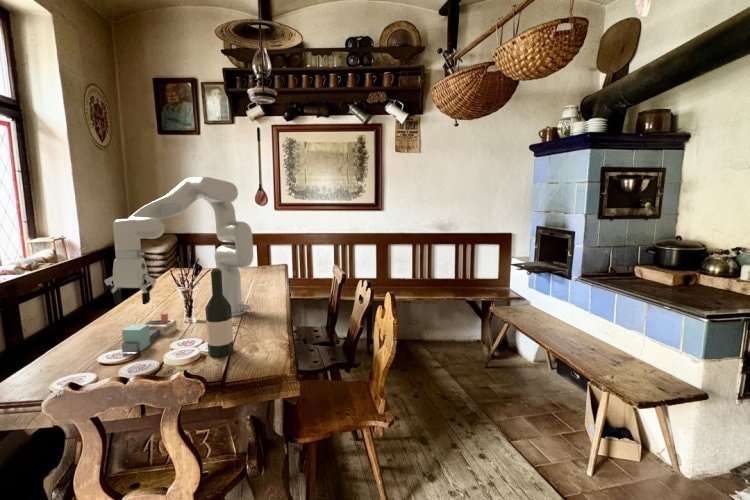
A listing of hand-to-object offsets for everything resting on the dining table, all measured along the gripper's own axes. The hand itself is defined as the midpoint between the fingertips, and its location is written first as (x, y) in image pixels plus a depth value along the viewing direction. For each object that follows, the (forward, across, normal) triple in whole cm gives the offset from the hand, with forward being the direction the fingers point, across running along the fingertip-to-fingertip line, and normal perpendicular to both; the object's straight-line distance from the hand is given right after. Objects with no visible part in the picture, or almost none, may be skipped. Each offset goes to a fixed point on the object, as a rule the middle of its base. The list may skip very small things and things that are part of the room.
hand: (132, 303), depth 142 cm
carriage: (+17, 0, -1) cm, 17 cm away
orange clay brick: (+13, -2, -18) cm, 22 cm away
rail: (+17, 0, -5) cm, 18 cm away
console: (+17, +1, -18) cm, 24 cm away
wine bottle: (+17, -31, +3) cm, 36 cm away
